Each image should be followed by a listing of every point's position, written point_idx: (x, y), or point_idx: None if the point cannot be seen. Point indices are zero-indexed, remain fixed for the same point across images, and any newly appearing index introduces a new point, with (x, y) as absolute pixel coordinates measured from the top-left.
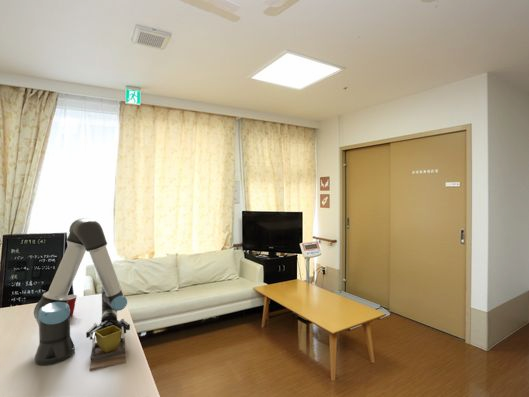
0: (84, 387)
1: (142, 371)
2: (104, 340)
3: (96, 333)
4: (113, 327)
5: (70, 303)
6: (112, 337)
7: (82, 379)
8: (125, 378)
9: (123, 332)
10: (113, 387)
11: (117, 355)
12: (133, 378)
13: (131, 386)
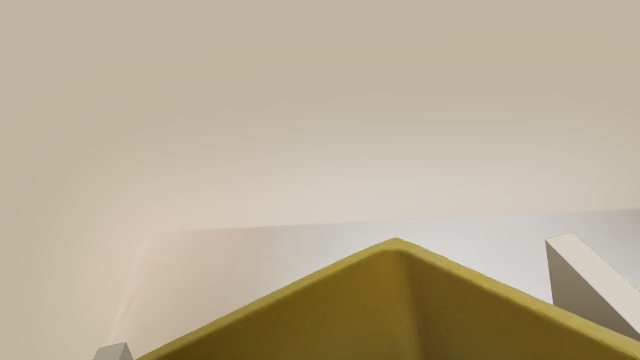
0: (464, 236)
1: (135, 325)
2: (392, 294)
3: (601, 338)
4: None
5: None
6: (286, 351)
7: (518, 277)
8: (240, 284)
9: (103, 348)
10: (304, 242)
11: None
12: (199, 284)
13: (220, 248)
